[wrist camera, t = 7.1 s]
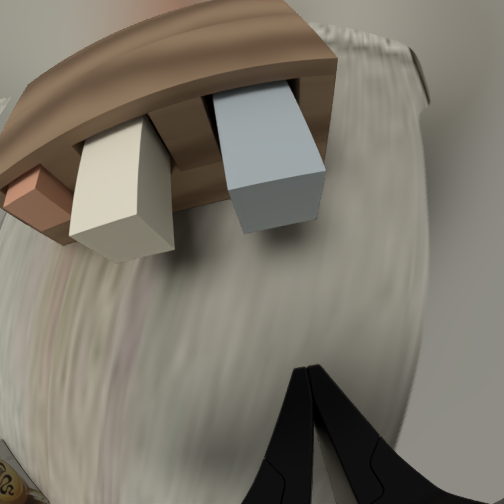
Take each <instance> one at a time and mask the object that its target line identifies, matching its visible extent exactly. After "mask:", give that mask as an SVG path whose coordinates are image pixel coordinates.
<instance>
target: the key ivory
mask: <svg viewBox="0 0 504 504" xmlns="http://www.w3.org/2000/svg"><path fill="white" fill-rule="evenodd" d="M69 237H71V238H73V239H74V240H76V241H78V242H79V243H81V244H83V245H85V246H86V247H88V248H90V249H91V250H93V251H95V252H97V253H98V254H100V255H102V256H104V257H105V258H107V259H109V260H111V261H113V262H114V263H116V264H117V263H121V262H125V261H129V260H133V259H137V258H142V257H146V256H150V255H154V254H158V253H163V252H167V251H171V250H175V245H174V232H173V217H172V198H171V172H170V155H169V154H168V152H167V150H166V149H165V147H164V145H163V143H162V142H161V140H160V138H159V137H158V135H157V133H156V131H155V130H154V128H153V126H152V124H151V123H150V121H149V119H148V117H147V116H146V114H144V115H141V116H138V117H136V118H133V119H130V120H128V121H125V122H123V123H120V124H118V125H116V126H113V127H111V128H109V129H106V130H104V131H102V132H99V133H97V134H95V135H93V136H91V137H89V138H87V139H86V140H85V144H84V148H83V152H82V157H81V161H80V166H79V171H78V176H77V181H76V187H75V193H74V199H73V206H72V213H71V221H70V231H69Z"/></svg>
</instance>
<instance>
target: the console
mask: <svg viewBox="0 0 504 504" xmlns="http://www.w3.org/2000/svg"><path fill="white" fill-rule="evenodd" d="M337 61H338V58H337V56H336V55H335V54H334V53H333V52H332V50H331V49H330V48H329V47H328V46H327V45H326V44H325V42H324V41H323V40H322V39H321V38H320V37H319V36H318V35H317V34H316V32H315V31H314V30H313V29H312V28H311V27H310V26H309V25H308V24H307V23H306V22H305V21H304V20H303V19H302V18H301V17H300V16H299V15H298V14H297V13H296V12H295V11H294V10H293V9H292V8H291V7H290V6H289V5H288V4H287V3H286V2H284V1H283V0H212V1H207V2H203V3H199V4H195V5H191V6H188V7H184V8H180V9H177V10H174V11H170V12H167V13H164V14H162V15H158V16H155V17H152V18H150V19H147V20H144V21H142V22H139V23H137V24H135V25H132V26H129V27H127V28H125V29H122V30H120V31H118V32H116V33H113V34H111V35H109V36H107V37H105V38H103V39H101V40H99V41H97V42H95V43H93V44H91V45H89V46H87V47H86V48H84V49H82V50H80V51H78V52H77V53H75V54H73V55H72V56H70V57H68V58H66V59H65V60H63V61H62V62H60V63H58V64H57V65H55V66H54V67H52V68H51V69H49V70H48V71H46V72H45V73H43V74H42V75H40V76H39V77H38V78H36V79H35V80H34V81H32V82H31V83H30V84H28V86H27V87H26V89H25V91H24V92H23V94H22V95H21V97H20V99H19V101H18V102H17V104H16V106H15V108H14V109H13V111H12V113H11V115H10V117H9V119H8V121H7V123H6V124H5V126H4V129H3V131H2V133H1V135H0V208H1V209H3V210H4V211H6V212H7V213H9V214H10V215H12V216H14V217H15V218H17V219H18V220H20V221H22V222H23V223H25V224H26V225H28V226H30V227H31V228H33V229H35V230H36V231H38V232H40V233H42V234H43V235H45V236H47V237H48V238H50V239H52V240H54V241H56V242H57V243H59V244H61V245H66V244H69V243H72V242H75V241H76V240H74V239H73V238H71V237H69V231H70V221H71V220H68V221H66V222H63V223H61V224H58V225H56V226H53V227H51V228H49V229H46V230H44V231H40V230H38V229H36V228H35V227H33V226H31V225H30V224H28V223H27V222H25V221H23V220H22V219H20V218H19V217H17V216H15V215H14V214H12V213H11V212H9V211H8V210H6V209H5V208H3V206H4V202H5V198H6V195H7V191H8V187H9V184H10V182H11V181H13V180H14V179H16V178H17V177H19V176H20V175H22V174H24V173H25V172H27V171H28V170H30V169H32V168H33V167H35V166H36V165H38V164H41V165H42V166H43V167H44V168H46V169H47V170H48V171H49V172H50V173H51V174H52V175H53V176H55V177H56V178H57V179H58V180H59V181H60V182H62V183H63V184H64V185H65V186H66V187H67V188H69V189H70V190H71V191H72V192H73V193H75V187H76V181H77V176H78V171H79V166H80V161H81V157H82V152H83V148H84V144H85V140H86V139H87V138H89V137H91V136H93V135H95V134H97V133H99V132H102V131H104V130H106V129H109V128H111V127H113V126H116V125H118V124H120V123H123V122H125V121H128V120H130V119H133V118H136V117H138V116H141V115H144V114H146V116H147V117H148V119H149V121H150V123H151V124H152V126H153V128H154V130H155V131H156V133H157V135H158V137H159V138H160V140H161V142H162V143H163V145H164V147H165V149H166V150H167V152H168V154H169V155H170V172H171V198H172V213H174V212H177V211H181V210H185V209H189V208H193V207H197V206H201V205H205V204H209V203H213V202H218V201H222V200H226V199H231V197H230V194H229V192H228V188H227V182H226V176H225V170H224V163H223V157H222V151H221V145H220V139H219V133H218V126H217V120H216V114H215V107H214V101H213V94H212V93H216V92H221V91H225V90H229V89H234V88H239V87H244V86H249V85H254V84H260V83H266V82H272V81H278V80H286V81H287V83H288V85H289V87H290V89H291V91H292V93H293V95H294V98H295V100H296V102H297V104H298V106H299V108H300V110H301V112H302V115H303V117H304V119H305V121H306V123H307V126H308V128H309V130H310V133H311V135H312V137H313V139H314V142H315V144H316V147H317V149H318V151H319V154H320V156H321V159H322V161H323V164H324V159H325V153H326V146H327V140H328V133H329V126H330V119H331V112H332V104H333V96H334V88H335V80H336V71H337Z"/></svg>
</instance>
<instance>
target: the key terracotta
mask: <svg viewBox="0 0 504 504" xmlns="http://www.w3.org/2000/svg"><path fill="white" fill-rule="evenodd" d="M73 199H74V193H73V192H72V191H71V190H70V189H69V188H67V187H66V186H65V185H64V184H63V183H62V182H60V181H59V180H58V179H57V178H56V177H55V176H53V175H52V174H51V173H50V172H49V171H48V170H47V169H46V168H44V167H43V166H42V165H41V164H38V165H36V166H35V167H33V168H32V169H30V170H28V171H27V172H25V173H24V174H22V175H20V176H19V177H17V178H16V179H14V180H13V181H11V182H10V184H9V187H8V191H7V195H6V198H5V202H4V206H3V208H5V209H6V210H8V211H9V212H11V213H12V214H14V215H15V216H17V217H19V218H20V219H22V220H23V221H25V222H27V223H28V224H30V225H31V226H33V227H35V228H36V229H38V230H40V231H44V230H46V229H49V228H51V227H53V226H56V225H58V224H61V223H63V222H66V221H68V220H71V213H72V206H73Z"/></svg>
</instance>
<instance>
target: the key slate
mask: <svg viewBox="0 0 504 504" xmlns="http://www.w3.org/2000/svg"><path fill="white" fill-rule="evenodd" d="M212 94H213V101H214V107H215V114H216V120H217V126H218V133H219V139H220V145H221V151H222V157H223V163H224V170H225V176H226V182H227V188H228V192H229V194H230V197H231V200H232V202H233V205H234V208H235V210H236V213H237V216H238V218H239V221H240V224H241V226H242V229H243V232H244V234H247V233H252V232H257V231H261V230H266V229H271V228H275V227H280V226H285V225H290V224H294V223H299V222H304V221H309V220H314V219H317V214H318V209H319V204H320V200H321V195H322V190H323V185H324V180H325V174H326V169H325V166H324V164H323V161H322V159H321V156H320V154H319V151H318V149H317V147H316V144H315V142H314V139H313V137H312V135H311V133H310V130H309V128H308V126H307V123H306V121H305V119H304V117H303V115H302V112H301V110H300V108H299V106H298V104H297V102H296V100H295V98H294V95H293V93H292V91H291V89H290V87H289V85H288V83H287V81H286V80H278V81H272V82H266V83H260V84H254V85H249V86H244V87H239V88H234V89H229V90H225V91H221V92H216V93H212Z"/></svg>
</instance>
